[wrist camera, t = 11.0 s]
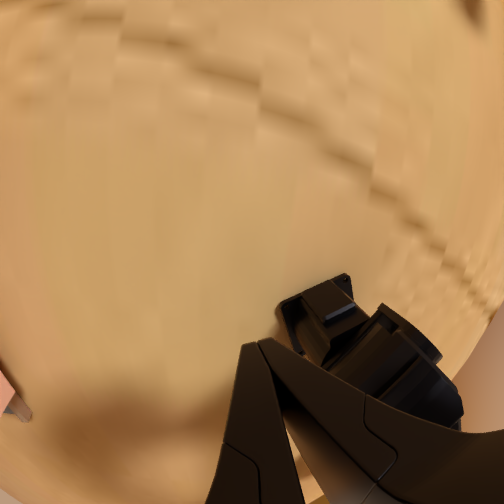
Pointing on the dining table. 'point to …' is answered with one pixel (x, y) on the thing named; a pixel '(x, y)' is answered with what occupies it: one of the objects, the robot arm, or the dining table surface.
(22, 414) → the mat
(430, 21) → the dining table surface
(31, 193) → the dining table surface
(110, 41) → the dining table surface
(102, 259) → the dining table surface
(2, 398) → the terracotta block
